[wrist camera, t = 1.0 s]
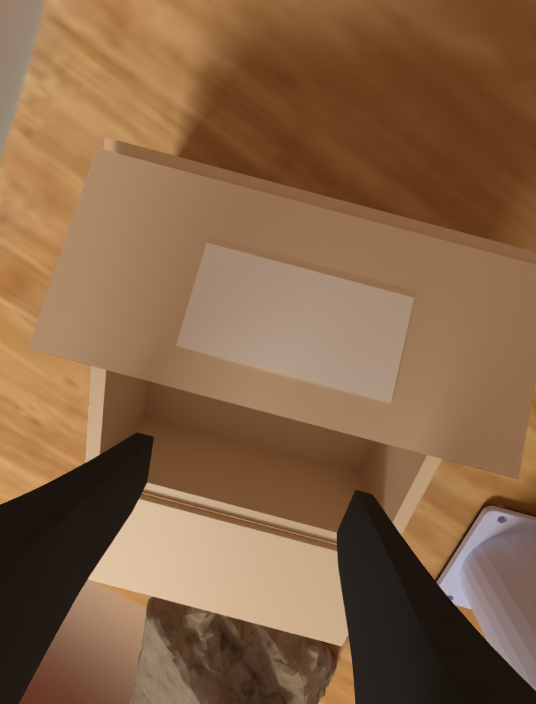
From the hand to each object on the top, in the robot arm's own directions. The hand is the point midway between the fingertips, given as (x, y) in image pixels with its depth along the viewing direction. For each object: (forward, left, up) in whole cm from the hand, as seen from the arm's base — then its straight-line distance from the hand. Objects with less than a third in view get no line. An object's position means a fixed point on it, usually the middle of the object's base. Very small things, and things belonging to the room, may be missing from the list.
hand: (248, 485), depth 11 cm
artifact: (-3, +22, -7) cm, 24 cm away
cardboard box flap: (0, -6, 0) cm, 6 cm away
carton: (0, 0, -7) cm, 7 cm away
